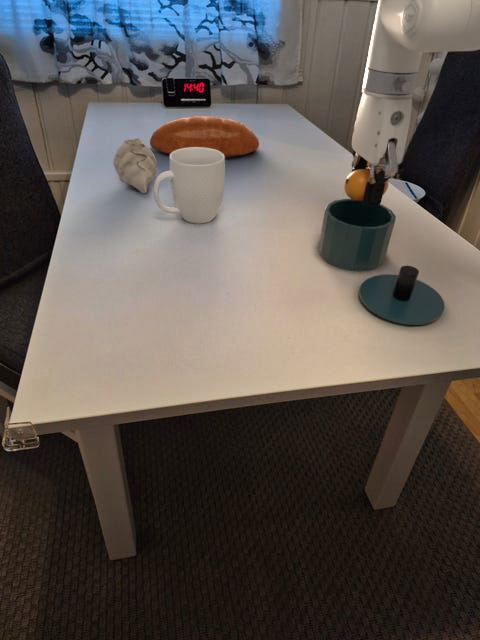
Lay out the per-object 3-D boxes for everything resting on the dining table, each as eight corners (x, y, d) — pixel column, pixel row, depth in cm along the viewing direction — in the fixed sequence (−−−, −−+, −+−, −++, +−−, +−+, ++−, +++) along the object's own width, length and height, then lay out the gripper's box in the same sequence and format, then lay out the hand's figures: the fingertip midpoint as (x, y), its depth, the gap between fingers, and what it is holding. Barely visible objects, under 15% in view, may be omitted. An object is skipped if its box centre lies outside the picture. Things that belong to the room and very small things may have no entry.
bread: (264, 162, 124) (266, 129, 119) (148, 162, 121) (145, 128, 115) (253, 138, 142) (255, 108, 136) (152, 137, 138) (149, 106, 133)
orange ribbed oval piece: (376, 192, 81) (383, 163, 78) (389, 204, 77) (397, 174, 74) (336, 194, 80) (341, 165, 76) (348, 206, 76) (354, 176, 73)
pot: (387, 245, 88) (398, 205, 83) (380, 277, 79) (392, 234, 74) (325, 234, 92) (332, 194, 86) (312, 262, 82) (319, 220, 77)
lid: (442, 290, 77) (454, 258, 73) (442, 336, 67) (456, 303, 63) (364, 273, 80) (371, 242, 76) (352, 315, 70) (360, 282, 66)
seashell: (164, 174, 114) (161, 134, 108) (152, 198, 102) (148, 154, 96) (124, 172, 114) (119, 132, 108) (108, 195, 103) (101, 151, 96)
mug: (165, 236, 88) (160, 170, 80) (148, 213, 96) (142, 152, 88) (232, 223, 94) (234, 161, 86) (212, 203, 101) (211, 144, 93)
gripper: (442, 95, 61) (406, 217, 72) (385, 72, 74) (362, 178, 86) (392, 96, 60) (364, 220, 71) (343, 72, 73) (326, 180, 84)
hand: (363, 196), depth 78 cm, fingers closed on orange ribbed oval piece, 5 cm apart
